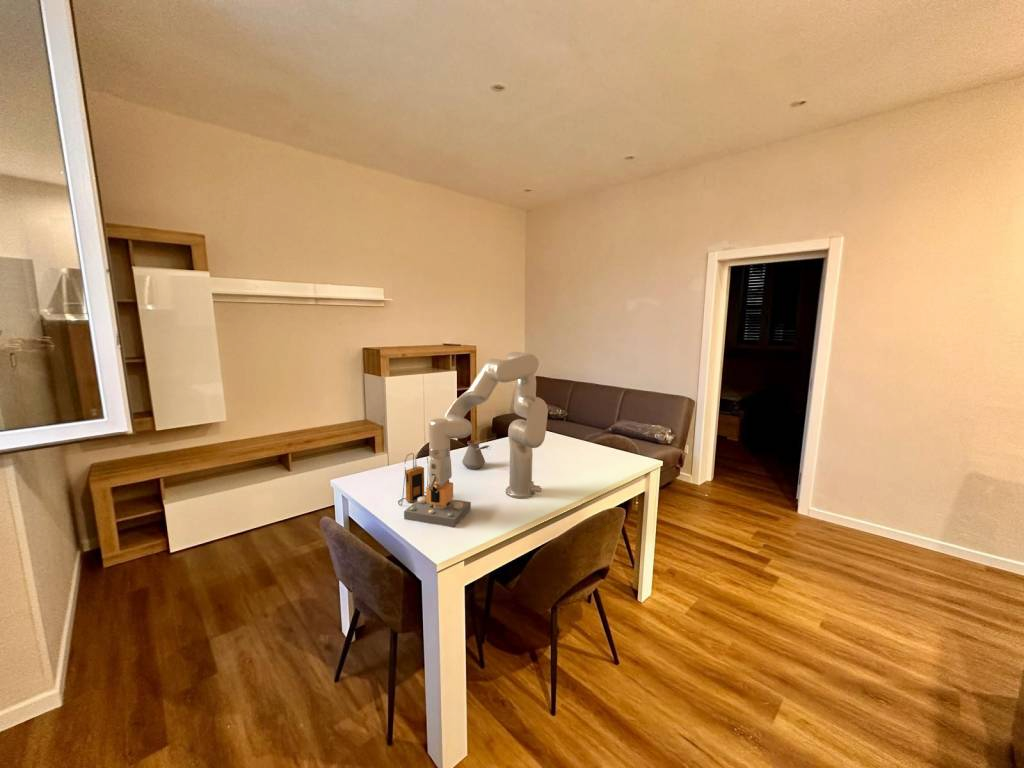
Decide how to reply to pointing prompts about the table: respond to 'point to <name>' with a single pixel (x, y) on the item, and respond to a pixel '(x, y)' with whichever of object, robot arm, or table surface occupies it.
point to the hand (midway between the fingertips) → (440, 497)
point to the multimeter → (414, 482)
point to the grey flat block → (437, 512)
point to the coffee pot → (474, 455)
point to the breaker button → (440, 506)
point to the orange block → (441, 493)
